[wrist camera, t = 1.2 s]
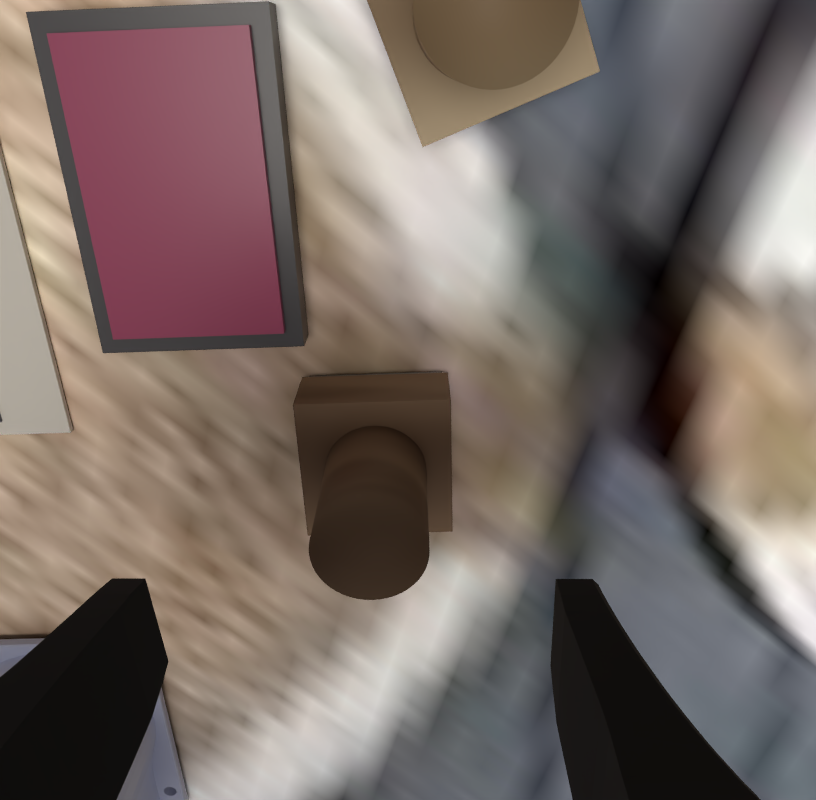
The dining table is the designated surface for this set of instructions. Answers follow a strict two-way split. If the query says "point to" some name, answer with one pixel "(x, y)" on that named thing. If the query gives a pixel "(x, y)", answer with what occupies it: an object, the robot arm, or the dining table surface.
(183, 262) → the ink pad
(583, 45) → the oak stamp
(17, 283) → the sheet
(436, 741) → the dining table surface
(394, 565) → the walnut stamp
